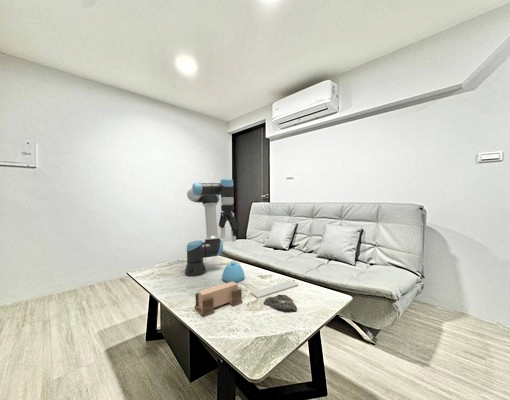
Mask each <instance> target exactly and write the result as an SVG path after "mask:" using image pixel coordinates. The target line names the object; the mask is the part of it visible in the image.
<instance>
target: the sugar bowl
mask: <svg viewBox="0 0 510 400" xmlns="http://www.w3.org/2000/svg"><path fill="white" fill-rule="evenodd" d="M242 267H243V266H241V264H239V263H237V262H235V261H231V262H230V263H227V265H225V268H224V269H223V272H222V275H221V276H222V277H221V278H222V279H223V281H224V282H225V283H229V282H232V281H233V282H235V283H238V282H241V281H242V280H244V278H245V271H244V269H243V268H242Z"/></svg>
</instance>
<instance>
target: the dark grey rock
mask: <svg viewBox="0 0 510 400" xmlns="http://www.w3.org/2000/svg"><path fill="white" fill-rule="evenodd" d="M263 305H264V306H266V307H267V306H269V308H271V309H274V310H276V311H279V312H283V313H292V312H298V307H297V305H296V304H295V302H294V299H292V298H291V297H289V296H288V295H287V294H277V295H275V296H268V297H266V298H265V299H264V301H263Z"/></svg>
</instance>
